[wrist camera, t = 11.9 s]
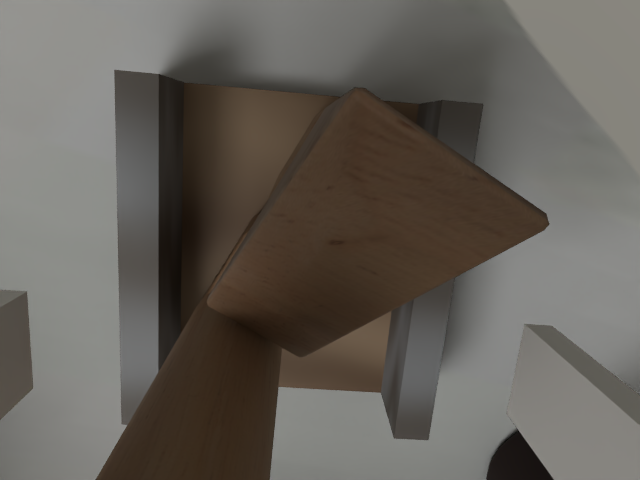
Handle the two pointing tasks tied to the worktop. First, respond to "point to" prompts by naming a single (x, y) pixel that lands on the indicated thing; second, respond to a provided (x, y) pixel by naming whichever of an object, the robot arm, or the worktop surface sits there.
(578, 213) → the worktop surface
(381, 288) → the brown upright wooden piece
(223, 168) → the metal-railed wooden board
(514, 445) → the bottle
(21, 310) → the robot arm
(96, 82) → the worktop surface
